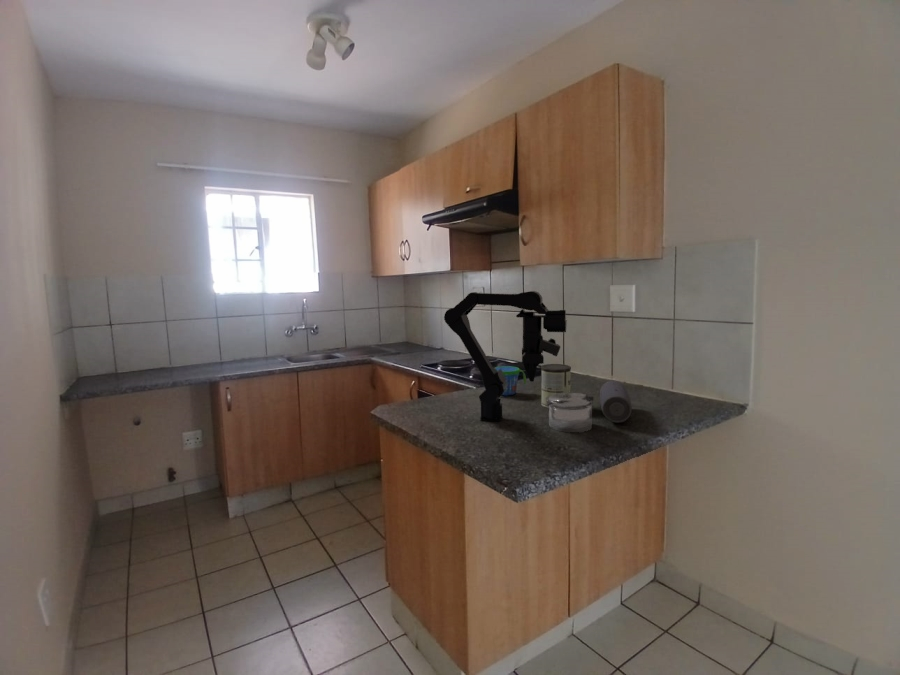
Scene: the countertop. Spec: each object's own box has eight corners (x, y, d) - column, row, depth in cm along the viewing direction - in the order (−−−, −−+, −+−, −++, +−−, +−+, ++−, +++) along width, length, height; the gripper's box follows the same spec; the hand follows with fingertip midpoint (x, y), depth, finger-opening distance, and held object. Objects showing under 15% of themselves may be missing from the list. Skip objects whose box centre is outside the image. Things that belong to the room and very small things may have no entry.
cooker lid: (547, 408, 129) (547, 400, 129) (545, 397, 142) (544, 390, 141) (596, 407, 127) (595, 399, 126) (589, 395, 139) (588, 388, 139)
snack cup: (487, 397, 171) (486, 371, 169) (486, 390, 181) (485, 366, 180) (527, 396, 170) (527, 371, 169) (524, 390, 180) (524, 365, 179)
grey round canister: (550, 431, 130) (550, 409, 129) (547, 418, 142) (547, 398, 141) (594, 433, 128) (595, 410, 127) (588, 420, 140) (588, 399, 139)
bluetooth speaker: (633, 428, 132) (634, 395, 131) (600, 425, 135) (601, 393, 134) (626, 407, 154) (627, 379, 153) (598, 405, 157) (599, 378, 155)
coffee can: (539, 401, 164) (539, 363, 162) (567, 401, 163) (568, 363, 161) (542, 409, 153) (542, 369, 152) (572, 409, 152) (573, 369, 151)
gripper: (561, 335, 126) (560, 388, 128) (556, 328, 144) (555, 375, 146) (522, 335, 128) (522, 388, 130) (521, 328, 146) (521, 375, 148)
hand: (531, 381), depth 138 cm, fingers closed
